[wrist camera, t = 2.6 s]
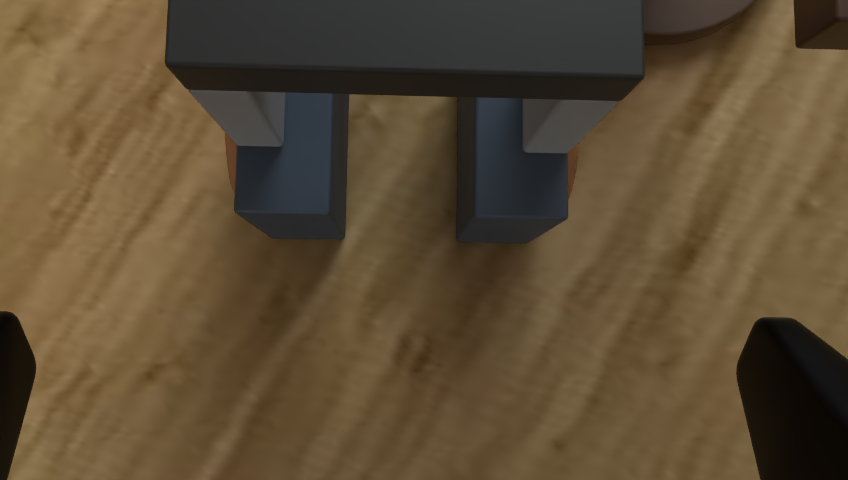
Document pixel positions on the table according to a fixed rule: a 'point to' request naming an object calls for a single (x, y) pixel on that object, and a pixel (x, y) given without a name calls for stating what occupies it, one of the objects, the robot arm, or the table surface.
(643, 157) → the table surface
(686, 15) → the headphone stand
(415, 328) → the table surface
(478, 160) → the dark blocky forked piece
